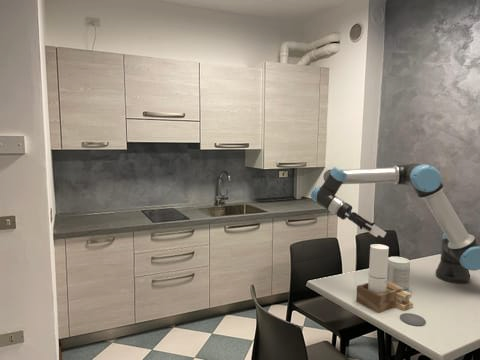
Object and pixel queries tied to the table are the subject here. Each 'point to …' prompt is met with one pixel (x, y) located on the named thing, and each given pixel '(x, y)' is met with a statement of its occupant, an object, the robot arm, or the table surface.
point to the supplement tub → (399, 272)
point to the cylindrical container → (378, 268)
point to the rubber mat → (412, 319)
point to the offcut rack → (384, 298)
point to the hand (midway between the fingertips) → (381, 234)
